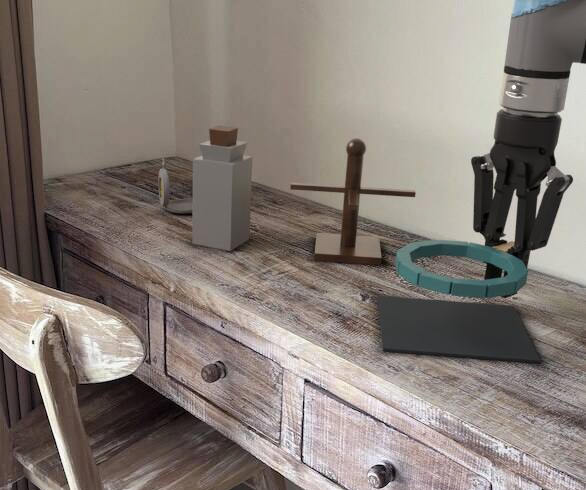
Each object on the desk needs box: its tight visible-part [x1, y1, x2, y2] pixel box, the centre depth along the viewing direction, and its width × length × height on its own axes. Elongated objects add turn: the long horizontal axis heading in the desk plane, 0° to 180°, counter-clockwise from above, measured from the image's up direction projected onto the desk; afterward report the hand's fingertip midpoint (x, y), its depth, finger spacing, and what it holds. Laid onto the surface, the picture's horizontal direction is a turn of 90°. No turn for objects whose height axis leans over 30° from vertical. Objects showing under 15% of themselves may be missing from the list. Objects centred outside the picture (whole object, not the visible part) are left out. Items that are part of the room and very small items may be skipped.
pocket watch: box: [157, 154, 193, 215], centre depth 142 cm, size 8×8×10 cm
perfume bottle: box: [191, 125, 253, 252], centre depth 126 cm, size 7×7×18 cm
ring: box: [395, 239, 529, 299], centre depth 99 cm, size 17×17×2 cm
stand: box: [289, 137, 417, 266], centre depth 124 cm, size 19×19×18 cm
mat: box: [377, 295, 541, 364], centre depth 102 cm, size 18×16×1 cm
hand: (499, 291), depth 106 cm, fingers closed on ring, 2 cm apart
